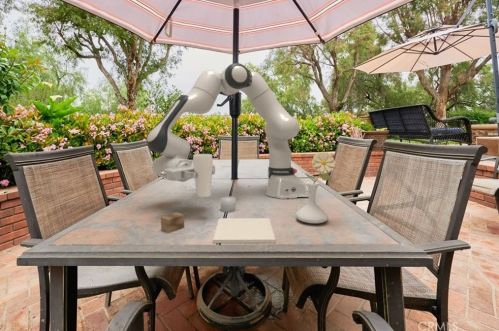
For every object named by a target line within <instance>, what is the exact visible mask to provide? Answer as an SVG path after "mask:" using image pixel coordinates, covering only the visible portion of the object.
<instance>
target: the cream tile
mask: <svg viewBox="0 0 499 331" xmlns="http://www.w3.org/2000/svg"><path fill="white" fill-rule="evenodd" d="M265 243H266V244H275V243H276V237H275V233H274V229H273V226H272V223H271V219H270V218H269V217H268V218H267V217H266V218H265V217H264V218H262V217H261V218H260V217H259V218H257V217H256V218H255V217H253V218H251V217H249V218H248V217H246V218H244V217H243V218H242V217H240V218H239V217H238V218H236V217H235V218H226V217H225V218H223V217H221V218H218V221H217V224H216V228H215V231H214V234H213V238H212V244H265Z"/></svg>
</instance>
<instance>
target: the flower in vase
mask: <svg viewBox="0 0 499 331" xmlns="http://www.w3.org/2000/svg"><path fill="white" fill-rule="evenodd" d="M336 163H337V162H336V160H335V158H334V157H333V155H331V153H328V152H324V151H321V152H318V153H315V154H314V155H313V158H312V161H311V166H312V167H313V169H314V171H316V172H319V175H318V176H317V178H315V177H314V176H313V175H310V174H308V173H307V172H306V173H305V174H306V176H307V177H309V178H310V179H314V181H307V182H305V186H307V189H308V190H307V191H308V192H309V197H308V203H306V204H305V205H303V207H301V208H300V209H298V210H297V211H296V213H295V217H296V219H297V220H299V221H300V222H304V223H307V224H321V223H325V222H326V221H327V220H328V219H329V216H328V214H327V213H326V212H325V211H324V210H323V209H322V208H321V207H320V206H319V205H318V204H317V202H316V198H317V197H316V195H317V190H318V187H320V185H321V183H320V182H317V181H318V179H319V177H320V179H321V180H323V181H330V180H333V178H332V176H330V174H329V173H331V172H333V171H334V170H335V167H336Z"/></svg>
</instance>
